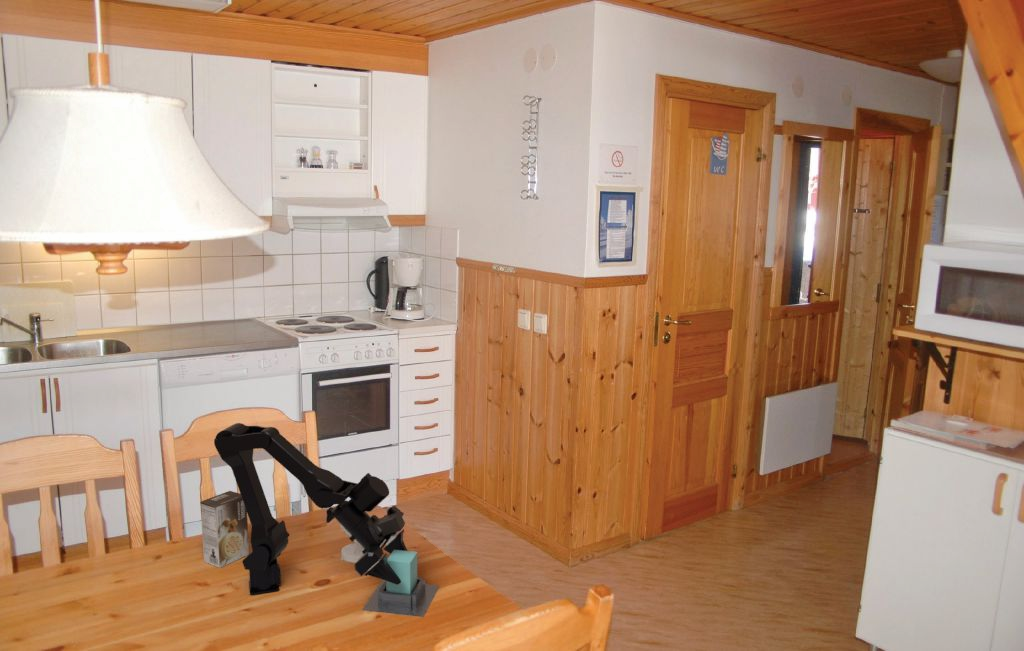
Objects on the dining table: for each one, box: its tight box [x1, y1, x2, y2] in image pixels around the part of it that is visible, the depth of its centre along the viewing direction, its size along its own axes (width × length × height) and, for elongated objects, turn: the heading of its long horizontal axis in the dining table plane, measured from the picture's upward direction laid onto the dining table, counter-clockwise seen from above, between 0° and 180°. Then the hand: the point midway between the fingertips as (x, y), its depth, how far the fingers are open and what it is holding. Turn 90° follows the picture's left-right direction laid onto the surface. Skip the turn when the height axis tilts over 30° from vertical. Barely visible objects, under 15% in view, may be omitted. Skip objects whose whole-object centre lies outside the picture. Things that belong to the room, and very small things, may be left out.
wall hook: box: [339, 524, 364, 564], centre depth 199 cm, size 9×10×10 cm
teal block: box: [386, 550, 418, 594], centre depth 178 cm, size 6×6×10 cm
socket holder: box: [361, 576, 441, 618], centre depth 178 cm, size 14×14×4 cm
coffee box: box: [199, 490, 250, 569], centre depth 197 cm, size 9×6×16 cm
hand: (405, 573), depth 177 cm, fingers open, 9 cm apart
